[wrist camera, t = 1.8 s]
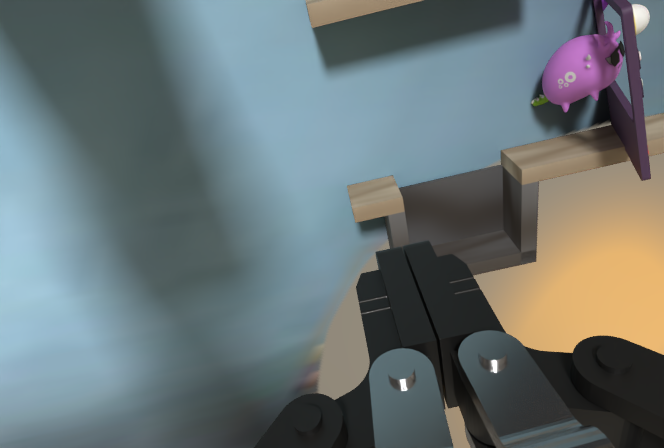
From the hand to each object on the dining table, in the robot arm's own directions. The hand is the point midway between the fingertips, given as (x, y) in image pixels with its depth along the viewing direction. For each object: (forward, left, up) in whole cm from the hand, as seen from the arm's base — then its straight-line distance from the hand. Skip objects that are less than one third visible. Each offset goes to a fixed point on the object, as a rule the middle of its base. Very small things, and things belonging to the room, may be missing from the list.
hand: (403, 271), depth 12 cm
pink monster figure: (+1, +13, -16) cm, 21 cm away
